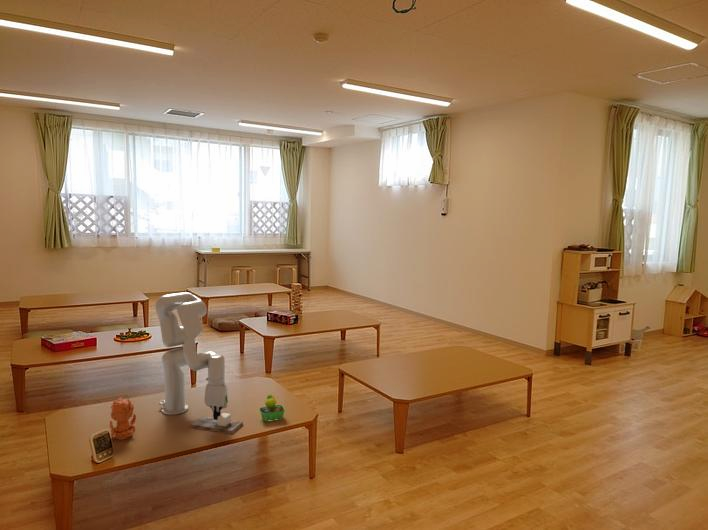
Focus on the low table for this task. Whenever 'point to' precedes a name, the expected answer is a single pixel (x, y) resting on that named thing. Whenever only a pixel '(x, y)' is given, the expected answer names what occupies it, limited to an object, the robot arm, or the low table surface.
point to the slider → (224, 419)
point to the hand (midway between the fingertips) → (216, 418)
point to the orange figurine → (122, 419)
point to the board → (215, 425)
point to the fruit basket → (271, 409)
